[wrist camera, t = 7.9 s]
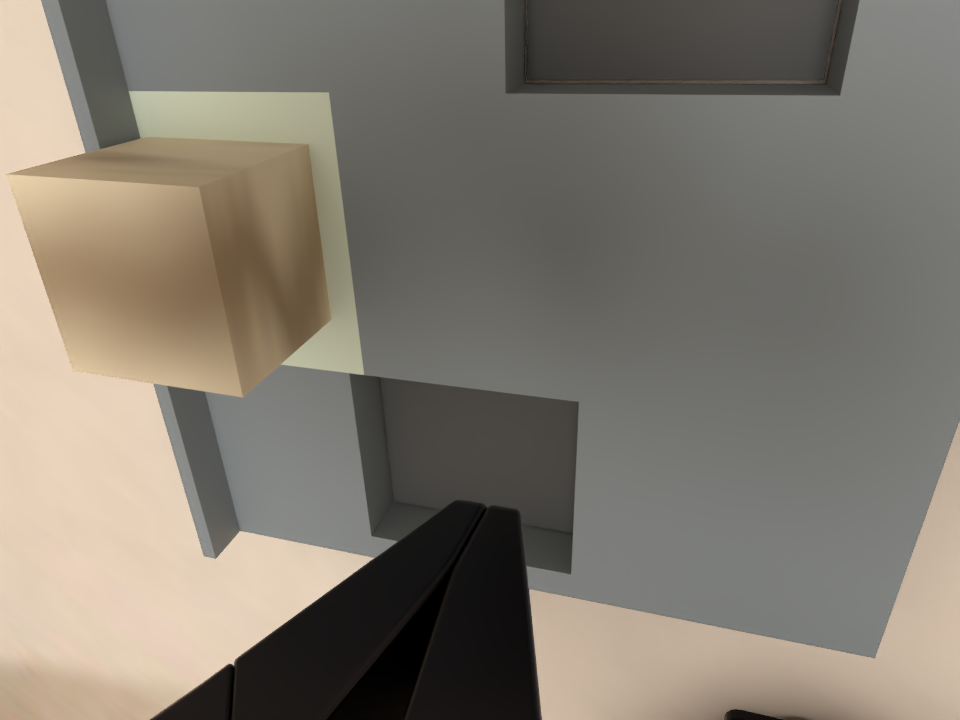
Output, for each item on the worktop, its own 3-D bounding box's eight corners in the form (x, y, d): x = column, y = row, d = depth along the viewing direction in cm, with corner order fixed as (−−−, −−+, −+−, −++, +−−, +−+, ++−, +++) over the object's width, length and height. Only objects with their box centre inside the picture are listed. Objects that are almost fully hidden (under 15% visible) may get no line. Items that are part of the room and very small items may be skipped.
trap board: (1196, -418, 11) (1374, -565, 8) (861, 606, 22) (885, 703, 19) (87, -247, 17) (-46, -296, 14) (257, 495, 28) (203, 556, 25)
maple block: (331, 320, 20) (242, 397, 16) (185, 302, 21) (73, 371, 18) (308, 144, 18) (198, 187, 14) (146, 136, 19) (6, 174, 15)
